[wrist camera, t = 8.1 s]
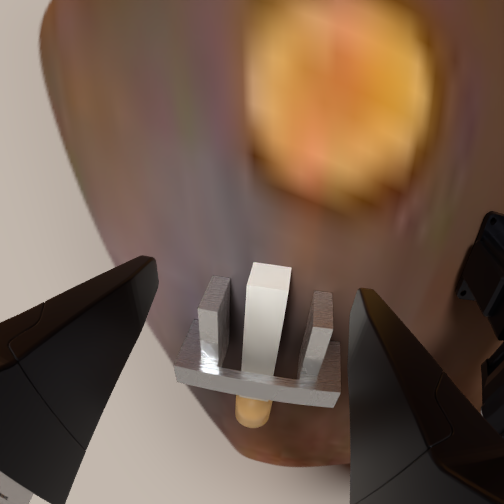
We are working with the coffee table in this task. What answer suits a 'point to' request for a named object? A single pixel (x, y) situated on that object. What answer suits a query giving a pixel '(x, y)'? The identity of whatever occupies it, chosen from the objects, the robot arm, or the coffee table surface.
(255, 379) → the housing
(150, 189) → the coffee table surface
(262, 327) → the white elongated bar
